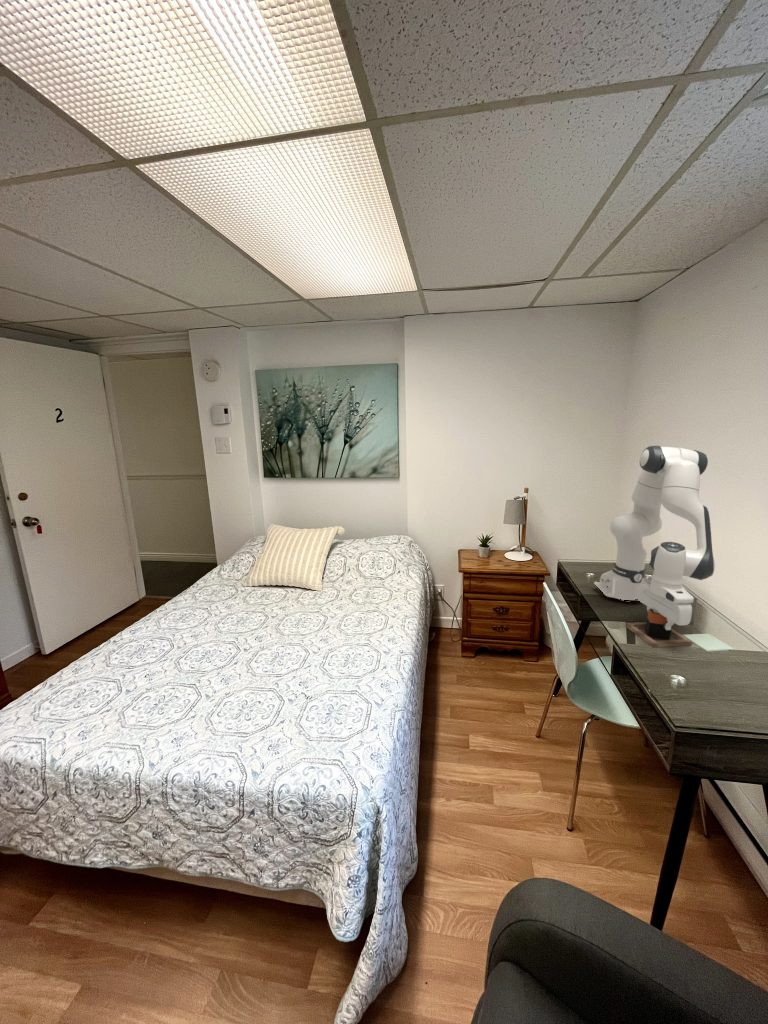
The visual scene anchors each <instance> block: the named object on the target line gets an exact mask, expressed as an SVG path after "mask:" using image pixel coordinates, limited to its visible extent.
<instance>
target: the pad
mask: <svg viewBox="0 0 768 1024" xmlns="http://www.w3.org/2000/svg"><path fill="white" fill-rule="evenodd" d="M682 635H683V636H684V637H686V638H687V639H689V640H690V641H692V643H693V644H694V645H695V646H697V647H698V648H700V649H702V650H703V651H705V652H708V653H709V652H729V650H731V651H734V650H735V648H734V647H731V646H730V645H728V644H727V643H724V641H721V640H720V639H718V638H716V637H715V636H713V635H712V634H710V633H693V634H682Z"/></svg>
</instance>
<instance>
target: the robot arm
mask: <svg viewBox="0 0 768 1024" xmlns="http://www.w3.org/2000/svg"><path fill="white" fill-rule="evenodd" d="M708 463H709V459H708V457H707V455H706V453H704V452H702V451H700V450H696V449H695V450H692V449H688V448H685V447H684V448H683V447H677V446H675V447H674V446H661V445H649V446H647V447H646V448H644V450H642V453H641V455H640V458H639V466H640V468H641V469H642V470H641V472H640V475H639V477H638V479H637V482H636V485H635V487H634V490H633V493H632V496H631V500H632V502H633V510H632V512H631V513H624V514H621V515H618V516H617V517H615V518H613V520H611V522H610V526H609V529H610V532H611V534H612V535H613V536H614V538H615V539H616V544H617V550H616V551H617V552H616V553H617V554H616V562H613V563H611V566H613V567H612V569H611V570H609V571H607V572H603V573H602V574H601V576H600V578H599V581H600V582H597V581H598V580H596V581H594V582H593V585H594V584H595V585H596V586H597V587H598V588H599V589H600V590H601V591H602V592H603V595H604V596H606V597H607V598H613V599H618V600H620V599H621V600H620V601H624V600H635V599H638V601H640V603H642V604H643V605H645V606H646V611H647V612H648V610H649V609H654V610H656V611H657V612H658V613H659V614H661V615H662V616H664V617H666V618H667V621H668V622H667V623H666V624H664V625H663V628H664V629H666V630H671V626H672V627H673V625H677V626H687V625H689V624H691V620H692V616H693V615H692V613H693V607H692V604H693V603H694V600H695V599H694V597H693V596H692V595H691V594H690V593H689V592H688V591H687V589H686V588H685V587H684V586H683V577H689V578H691V579H695V580H699V581H702V580H706V579H708V578H710V577H712V576H713V575H714V574H715V573H714V572H715V570H716V561H715V558H714V553H713V543H712V542H713V541H712V531H711V530H712V529H711V527H712V526H711V519H710V517H711V516H710V513H709V508H708V507H707V506H705V505H704V504H702V502H701V499H700V496H699V495H700V485H701V484H700V483H701V475H702V474H704V472H705V471H706V469H707V467H708ZM661 506H663V507H664V509H666V511H668V512H669V513H671V514H674V515H675V516H678V517H680V518H683V519H684V520H687V521H689V522H690V523H691V524H693V526H694V527H695V533H696V549H687V548H686V546H685V545H683V544H682V543H679V542H674V541H663V542H661V543H660V544H659V545H658V546H656V547H654V548H653V549H651V552H650V561H649V562H648V563H649V564H648V565H649V566H650V568H651V569H652V570H653V574H652V575H651V579H649V578H644V577H645V574H646V568H645V567H646V561H647V550H646V549H645V548H644V546H643V537H648V536H652V535H653V534H656V533H657V532H659V531H660V530H661V529H662V526H663V521H662V518H661V517H660V516H661ZM595 585H594V586H595ZM596 586H595V587H596ZM597 587H596V588H597ZM598 588H597V589H598ZM599 589H598V590H599ZM600 590H599V591H600ZM602 592H601V593H602Z"/></svg>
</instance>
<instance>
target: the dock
mask: <svg viewBox="0 0 768 1024" xmlns="http://www.w3.org/2000/svg"><path fill="white" fill-rule="evenodd" d="M646 622H647V621H645V622H643V621H642V622H626V623H625V628H626V629H628V630H629V631H630V632H632V633H634V634H635V635H636V636H638V637H639V638H640V639H642V640H643V641H645V643H647V644H648V645H650V646H651V647H652V648H667V647H685V646H686V647H687V646H688V647H690V646H692V645H693V644H692V641H690V640H689V639H687V638H686V637H684V636H683V635H684V634H681V633H679V632H678V631H677V630H675V629H673V628H672V630H671V635H670V636H672V637H674V638H675V639H669V640H666V639H662V640H654V638H653V637H649V636H648V635H647V634H646V632H643V631H642V630H641V629H645V628H646Z"/></svg>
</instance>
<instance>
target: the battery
mask: <svg viewBox="0 0 768 1024" xmlns="http://www.w3.org/2000/svg"><path fill="white" fill-rule="evenodd" d="M645 622H646V628H644V633H645V634H646V635H647V636H649V637H650V638H653V639H654V638H655V639H660V640H661V639H662V640H671V636H672V635H671V630H672V629H673V625H672V626H671V630H666V629H664V628H663V625H664V624H666V623H667V622H668V621H667V618H666V617H664V616H662V615H661V614H659V613H658V612H657V611H656V610H654V609H649V610H648V611H647V617H646V621H645Z"/></svg>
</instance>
